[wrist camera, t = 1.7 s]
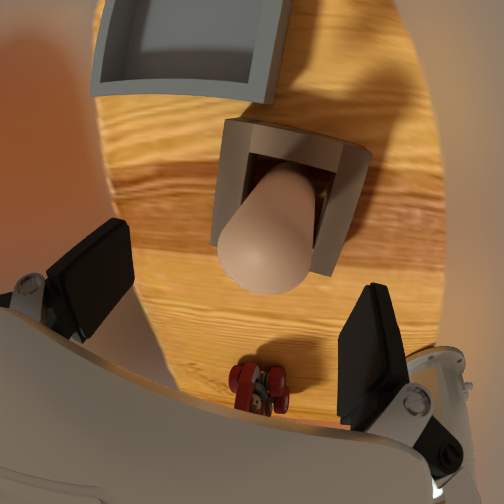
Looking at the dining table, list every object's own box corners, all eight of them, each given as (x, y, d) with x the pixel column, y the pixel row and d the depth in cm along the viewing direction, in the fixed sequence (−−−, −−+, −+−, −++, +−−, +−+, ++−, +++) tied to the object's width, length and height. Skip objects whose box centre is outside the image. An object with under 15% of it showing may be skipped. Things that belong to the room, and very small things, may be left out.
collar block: (363, 146, 18) (372, 153, 16) (330, 254, 24) (330, 276, 21) (239, 117, 20) (224, 119, 17) (223, 227, 25) (210, 245, 22)
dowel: (321, 169, 20) (323, 226, 11) (308, 218, 23) (297, 303, 13) (267, 156, 21) (222, 201, 12) (258, 206, 23) (213, 281, 14)
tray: (301, -44, 11) (297, -67, 7) (273, 104, 19) (263, 103, 15) (144, -33, 12) (120, -44, 9) (117, 94, 20) (89, 97, 17)
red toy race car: (281, 352, 32) (264, 426, 23) (291, 400, 38) (280, 458, 29) (229, 350, 34) (203, 417, 25) (249, 397, 40) (232, 452, 31)
